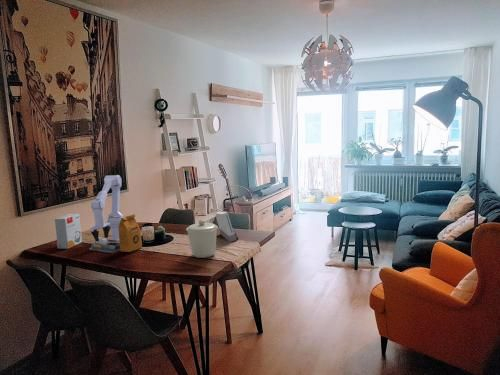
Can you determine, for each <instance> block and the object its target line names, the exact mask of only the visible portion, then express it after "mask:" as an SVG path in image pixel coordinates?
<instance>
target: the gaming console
mask: <svg viewBox="0 0 500 375" xmlns="http://www.w3.org/2000/svg"><path fill="white" fill-rule="evenodd" d="M214 214H215V218H216V222H217V224H218V225H217V226H218V230H219V233H220V235H221V236H222V237H224V239H225V240H226V241H227V242H229V243H231V242H234V241H237V240H238V239H239V236H238V234H237V232H236V231H235V230H234V228H233V226H232V222H231V218H230V216H229V213H228V212H227V211H217V212H214Z"/></svg>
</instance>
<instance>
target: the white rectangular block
mask: <svg viewBox="0 0 500 375" xmlns="http://www.w3.org/2000/svg"><path fill="white" fill-rule="evenodd" d="M107 241H108V238H105V237H99V241H98V242H97V241H95V242H96V243H98V244H106V243H108V242H107Z"/></svg>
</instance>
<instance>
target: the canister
mask: <svg viewBox="0 0 500 375" xmlns="http://www.w3.org/2000/svg"><path fill="white" fill-rule="evenodd" d="M218 229H219V225H217V224H214V223H213V222H206V221H205V220H204V219H200V220H199V221H198V223H193V224H191V225H189V226H188V227H186V229H185V230H186V232H187V235H188V240H189V246H190V250H191V254H192V255H193V256H194V258H200V259H203V258H210V257H212V256H214V254H215V253H216V249H217V234H218V232H217V231H218Z"/></svg>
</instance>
